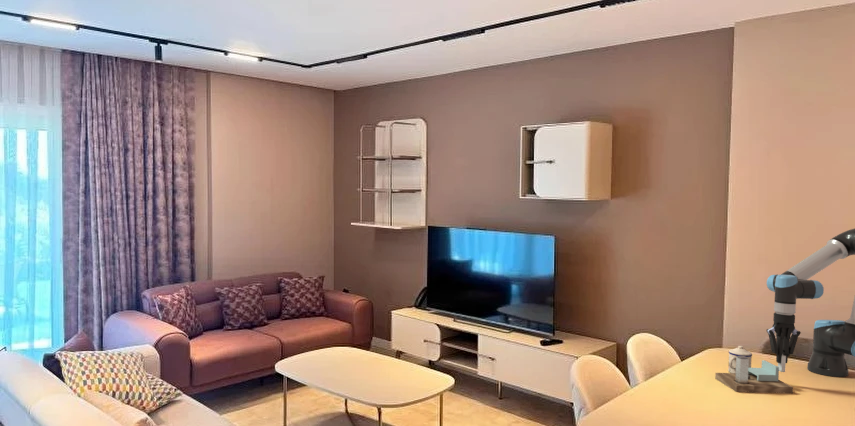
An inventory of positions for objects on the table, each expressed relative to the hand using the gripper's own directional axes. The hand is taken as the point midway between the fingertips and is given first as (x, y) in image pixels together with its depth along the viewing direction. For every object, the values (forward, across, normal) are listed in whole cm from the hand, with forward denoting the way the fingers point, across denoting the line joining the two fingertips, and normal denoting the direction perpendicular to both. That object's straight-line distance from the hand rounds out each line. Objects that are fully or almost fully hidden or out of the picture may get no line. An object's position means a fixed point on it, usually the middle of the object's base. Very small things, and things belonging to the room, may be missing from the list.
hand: (781, 370), depth 247 cm
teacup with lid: (+6, +10, -15) cm, 19 cm away
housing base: (+6, +13, +3) cm, 14 cm away
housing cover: (+3, +8, 0) cm, 9 cm away
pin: (+6, +20, +6) cm, 21 cm away
